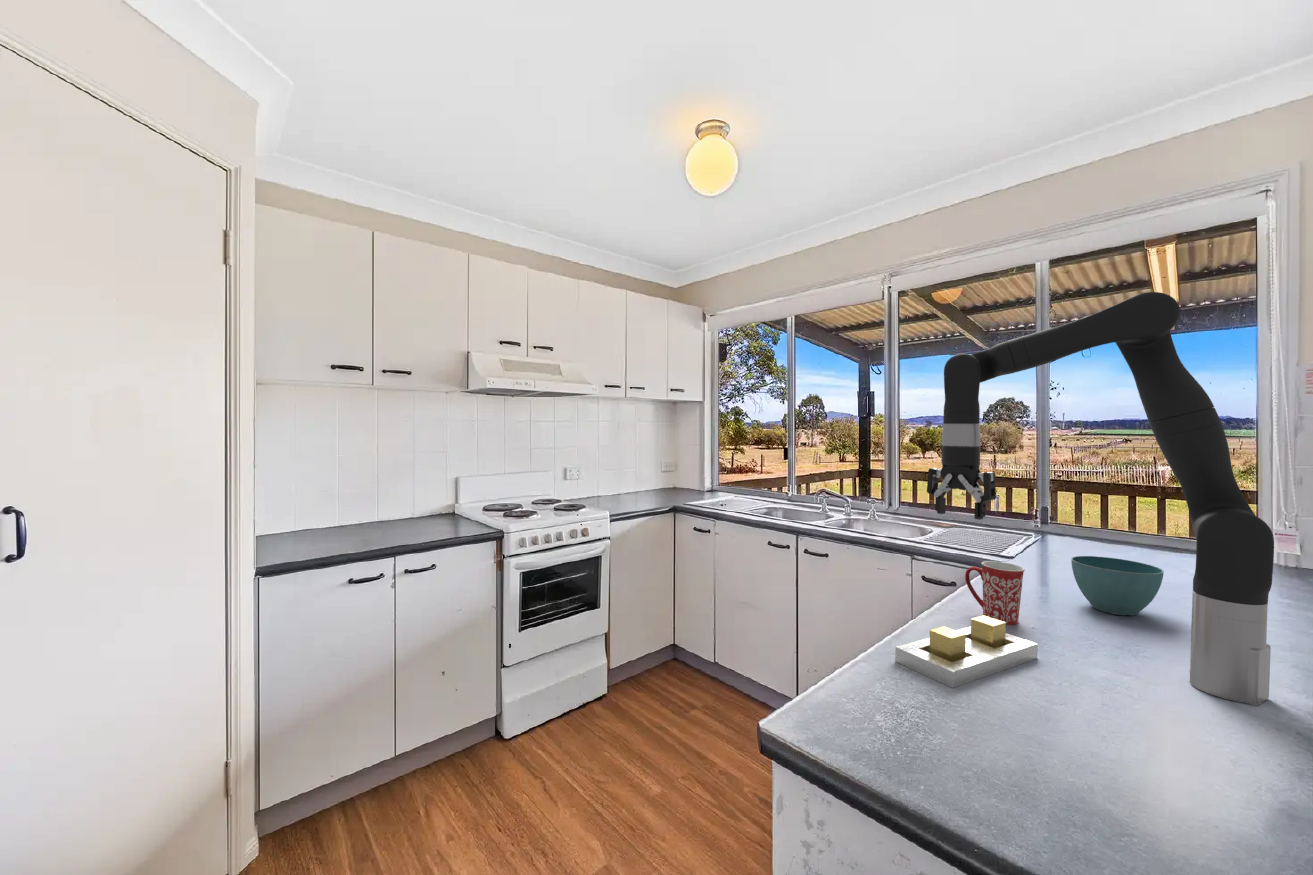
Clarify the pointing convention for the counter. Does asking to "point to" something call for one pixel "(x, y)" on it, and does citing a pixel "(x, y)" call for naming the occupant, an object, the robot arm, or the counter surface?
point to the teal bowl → (1116, 583)
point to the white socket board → (966, 659)
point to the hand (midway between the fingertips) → (959, 516)
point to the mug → (999, 590)
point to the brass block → (947, 644)
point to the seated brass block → (988, 631)
